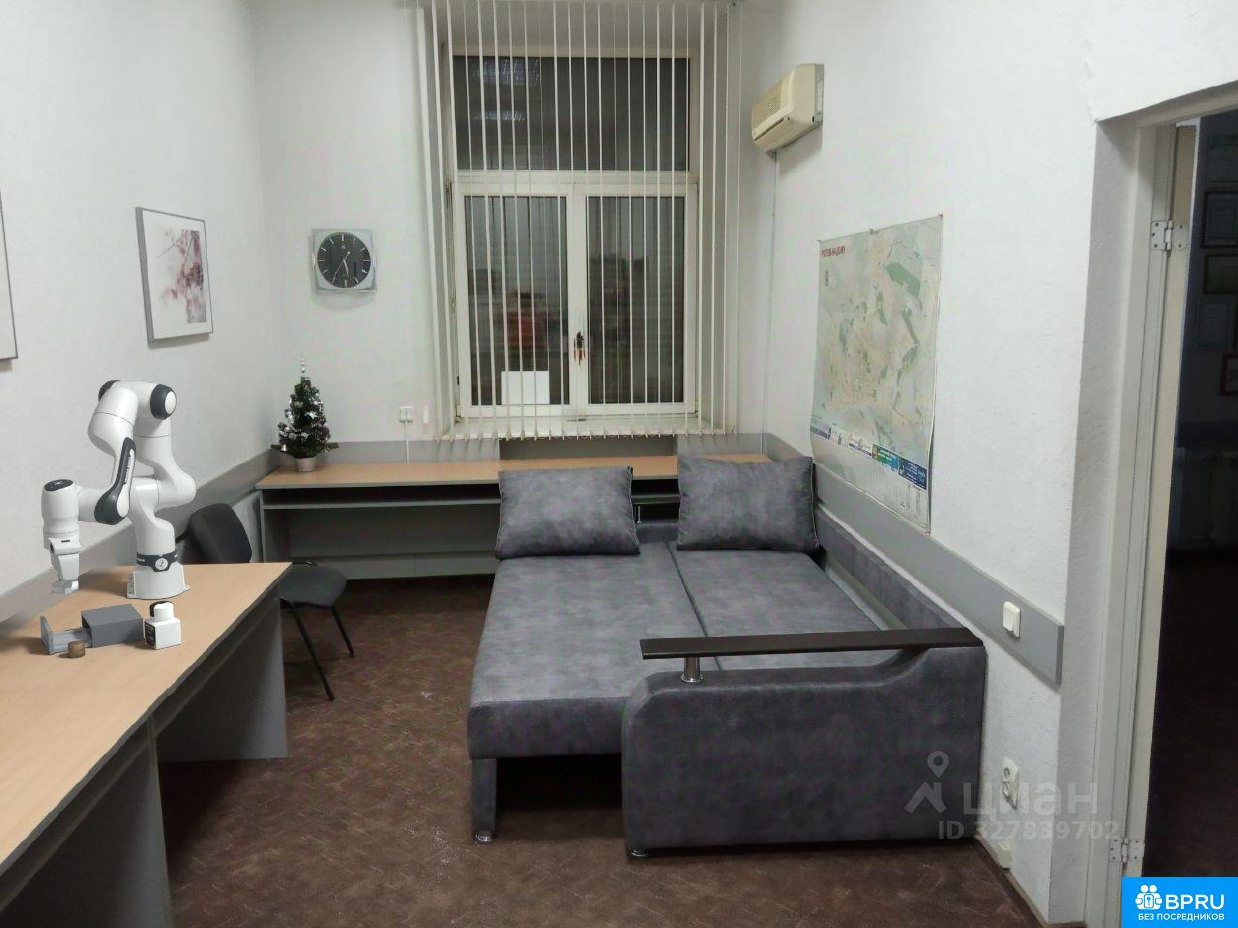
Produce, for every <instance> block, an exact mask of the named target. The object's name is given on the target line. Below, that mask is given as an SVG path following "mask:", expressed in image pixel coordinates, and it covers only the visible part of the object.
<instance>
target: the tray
mask: <svg viewBox="0 0 1238 928" xmlns="http://www.w3.org/2000/svg"><path fill="white" fill-rule="evenodd" d="M39 623H40V637H41V640H42V642H43V644H44V646H45V648H46V650H47V651H48V652H47V653H49V655H50V656H51V655H55V653H56V654H57V653H59V652H68V643H70V642H72V641H84V642H85V648H89V647H90V648H91V647H92V633H91V627H90V628H84V626H82V625H81V626H80V628H76V629H70V630H65V631H58V632H53V629H52V628H51V625H50V623H49V622H48V620H47V618H46V616H45V615H43V614H42V615H39Z"/></svg>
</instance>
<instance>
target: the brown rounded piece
mask: <svg viewBox="0 0 1238 928" xmlns="http://www.w3.org/2000/svg"><path fill="white" fill-rule="evenodd" d="M67 652H68V653H67V654H68V658H69V659H80V658H83V657H85V656H86V647H85V642H84V641H72V642H70V643H68V650H67Z"/></svg>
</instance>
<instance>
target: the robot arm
mask: <svg viewBox="0 0 1238 928" xmlns="http://www.w3.org/2000/svg"><path fill="white" fill-rule="evenodd" d="M97 399H98V401H97V402H98V403H97V405H96V406H95V409H94V411H93V413H92V415H91V418H90V420H89V423H88V426H87V435H88V438H89V441H90V442H91V444H92V445H93V446H95V447H96V448H97V449H99V450H100V451H102V452H103V453H104V454H107V455H110V456H111V457H113V459H114V463H113V468H112V474H111V480H110V484H109V485H108V486H106V487H91V486H90V487H89V486H83V485H77V484H76V483H75V481H74V480H72V479H67V478H66V479H65V478H61V479H60V478H59V479H55V480H51V481H48V482H47V483H46V484H44V485H43V487H42V491H41V498H40V506H41V507H40V509H41V518H42V519H43V527H42V537H43V538H42V540H43V548H44V549H45V550H48V551H49V554H50V562H51V565H52V566H53V569H54V570H55V571H56V574H57V578H58V580H62V581H63V583H64V586H63V587H64V594H66V595H69V594H72V593H73V592H72V583H73V581H78V579H79V575H80V574H79V572H80V569H79V568H80V553H81V552H82V537H81V526H80V524H79V523H80V522H83V523H84V522H85V523H96V524H97V523H98V524H103V525H107V526H108V525H109V526H115V525H118V524H119V523H121V522H122V521H124V520H125V519H126V517H127V518H128V519H129V520H130V522H131V524H132V525H133V527H134V528H133V529H134V531H135V537H136V546H137V551H136V554H135V559H136V560H135V563H136V565H135V566H134V568H133V572H132V573H131V572H130V573H127V579H128V583H126V598H128V599H141V600H158V599H167V598H172V597H175V596H179V595H180V594H182V593H184V592H186V591H189V590H190V589H191V587H190V585H189V584H187V583H185V578H184V577H185V575H184V567H183V565H182V563H180V562H178V556H179V555H178V550H177V548H176V538H175V527H174V525H173V524H172V523H171V522H170V521H168V520H165V519H162V518H160V517H157V516H155V512H154V510H157V509H167V508H174V507H175V508H176V507H180V506H183V505H187V504H190V503H191V502H192V501H194V498H195V497H196V495H197V484H196V481H195V480H194V478H193V477H192V476H191V475H190V474H189V473H187V472H185V471H184V470H182V469H181V468H180V466H179V465H178V463H177V462H176V460H175V457H174V450H173V441H172V438H173V437H172V420H171V416H172V414H174V412H175V411H176V409H177V403H178V402H177V401H178V400H177V394H176V392H175V391H174V390H173V388H172V387H170V386H168V385H166V384H162V383H154V382H148V381H141V380H120V379H112V380H108V381H106V382H105V383H104V384H103V385H101V387H100V388H99V391H98V395H97ZM136 461H137V462H139V463H140V464H143V465H145V466H147V467H150V468H152V469H153V473H152V474H149V475H148V474H145V475H136V476H135V475H134V472H135V471H134V470H135V466H136ZM129 581H130V582H129Z"/></svg>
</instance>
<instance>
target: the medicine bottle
mask: <svg viewBox="0 0 1238 928" xmlns="http://www.w3.org/2000/svg"><path fill="white" fill-rule="evenodd" d="M148 608H149V618H146V619H143V627H144V640H145V641H144V642H145V645H147V646H149V647H151V648H152V649H154V650H155V651H157V650H163V649H167V648H171V647H175V646H180V645H182V631H181V620H180V619H179V618H177V617H175V611H174V603H173V602H172V601H168V600H160V601H155V602H152V603H150V605H149V607H148Z"/></svg>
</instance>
